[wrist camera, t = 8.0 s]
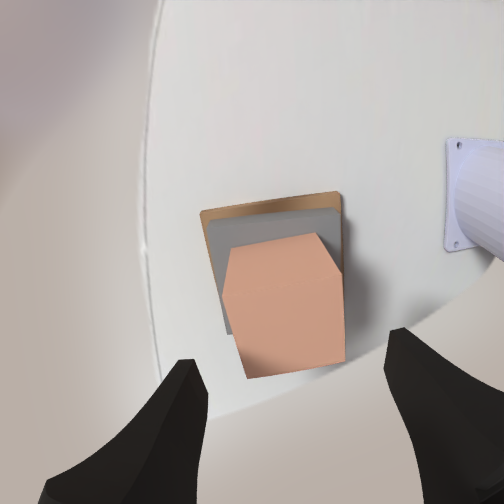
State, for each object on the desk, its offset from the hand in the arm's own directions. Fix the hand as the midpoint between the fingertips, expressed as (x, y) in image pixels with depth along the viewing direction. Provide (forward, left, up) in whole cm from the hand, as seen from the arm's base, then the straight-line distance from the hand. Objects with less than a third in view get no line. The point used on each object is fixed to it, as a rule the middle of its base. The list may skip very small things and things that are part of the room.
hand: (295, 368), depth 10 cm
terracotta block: (0, 0, -7) cm, 7 cm away
